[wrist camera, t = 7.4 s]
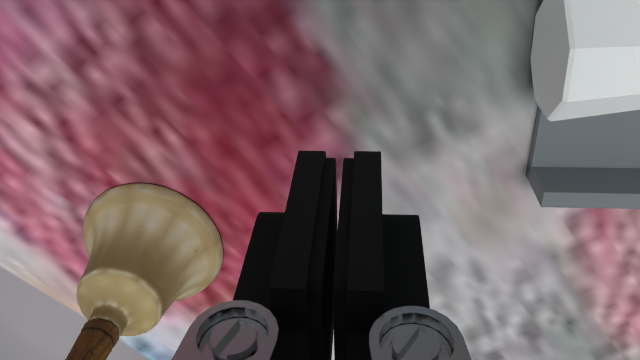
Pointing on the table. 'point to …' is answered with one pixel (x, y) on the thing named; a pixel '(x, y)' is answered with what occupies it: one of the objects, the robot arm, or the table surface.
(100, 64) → the table surface
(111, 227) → the hand bell
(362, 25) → the table surface
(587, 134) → the tray
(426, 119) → the table surface
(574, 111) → the pepper shaker
